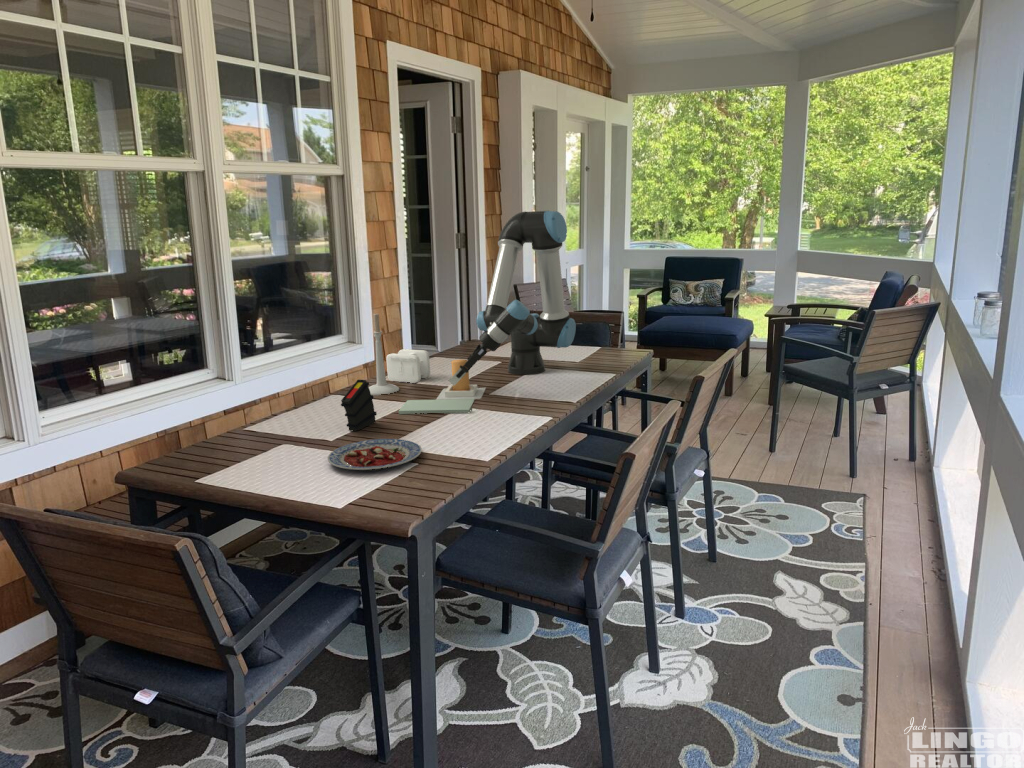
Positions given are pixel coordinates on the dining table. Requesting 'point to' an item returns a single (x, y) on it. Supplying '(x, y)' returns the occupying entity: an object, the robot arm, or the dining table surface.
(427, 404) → the sage board
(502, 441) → the dining table surface
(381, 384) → the candlestick
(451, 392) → the base
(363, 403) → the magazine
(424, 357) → the cable organizer
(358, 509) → the dining table surface
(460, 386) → the orange plug
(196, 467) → the dining table surface
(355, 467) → the ceramic plate
